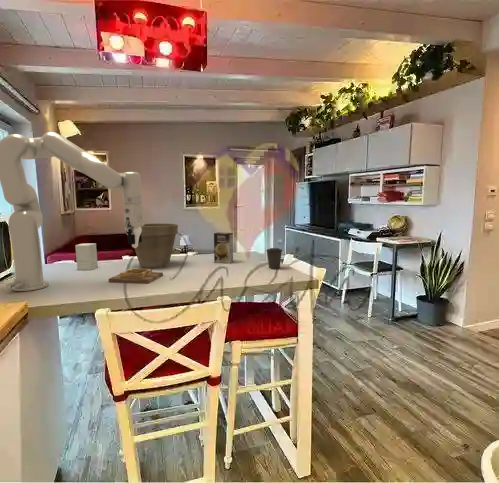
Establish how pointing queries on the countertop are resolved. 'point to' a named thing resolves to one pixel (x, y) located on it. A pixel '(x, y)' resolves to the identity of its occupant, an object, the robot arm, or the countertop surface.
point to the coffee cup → (274, 257)
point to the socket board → (136, 276)
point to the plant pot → (156, 245)
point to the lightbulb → (136, 236)
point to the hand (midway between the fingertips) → (134, 242)
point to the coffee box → (223, 247)
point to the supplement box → (86, 256)
